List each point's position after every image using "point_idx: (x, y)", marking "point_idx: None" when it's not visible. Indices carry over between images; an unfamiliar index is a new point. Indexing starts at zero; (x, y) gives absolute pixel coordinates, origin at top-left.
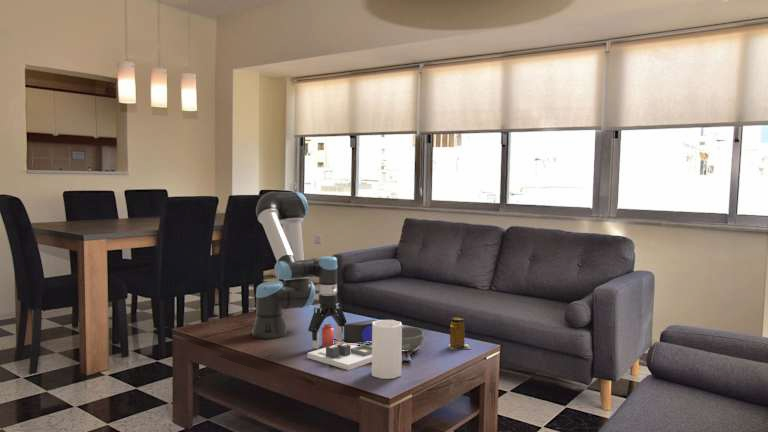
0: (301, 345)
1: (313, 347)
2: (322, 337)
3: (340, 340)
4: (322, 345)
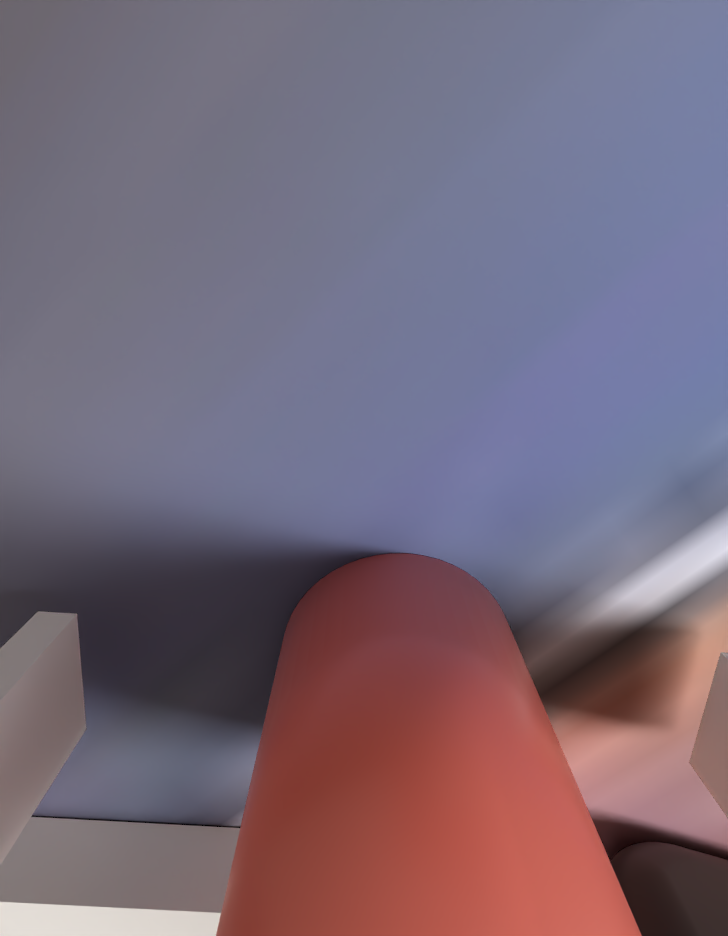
0: (86, 152)
1: (37, 622)
2: (249, 789)
3: (708, 780)
4: (282, 650)
